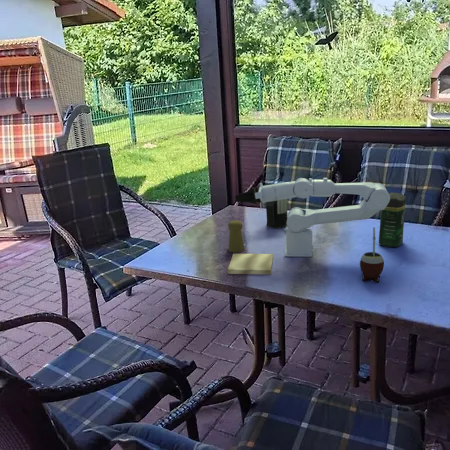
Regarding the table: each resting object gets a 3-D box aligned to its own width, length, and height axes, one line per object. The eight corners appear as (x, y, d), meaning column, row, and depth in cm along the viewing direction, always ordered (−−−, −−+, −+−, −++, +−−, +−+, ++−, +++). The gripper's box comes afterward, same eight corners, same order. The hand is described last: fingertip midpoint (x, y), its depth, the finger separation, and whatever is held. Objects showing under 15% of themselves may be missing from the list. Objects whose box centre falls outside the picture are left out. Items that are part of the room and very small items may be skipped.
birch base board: (273, 258, 171) (273, 254, 171) (270, 274, 158) (270, 270, 158) (233, 257, 174) (233, 253, 173) (227, 273, 160) (227, 269, 160)
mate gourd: (369, 285, 147) (371, 238, 142) (352, 276, 154) (354, 231, 149) (389, 280, 149) (391, 234, 145) (372, 271, 156) (374, 227, 152)
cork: (243, 252, 178) (241, 223, 174) (226, 252, 179) (225, 223, 175) (245, 246, 183) (244, 218, 180) (229, 246, 184) (228, 218, 181)
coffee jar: (398, 249, 173) (402, 198, 167) (376, 246, 177) (378, 196, 171) (405, 240, 181) (408, 192, 175) (383, 238, 185) (385, 190, 179)
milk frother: (267, 222, 211) (266, 188, 206) (304, 221, 208) (304, 187, 204) (265, 232, 197) (264, 197, 193) (304, 232, 195) (304, 196, 190)
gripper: (276, 180, 176) (239, 186, 179) (271, 180, 162) (232, 187, 165) (279, 199, 176) (242, 205, 179) (275, 202, 162) (235, 208, 165)
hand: (237, 198), depth 172 cm, fingers open, 7 cm apart
